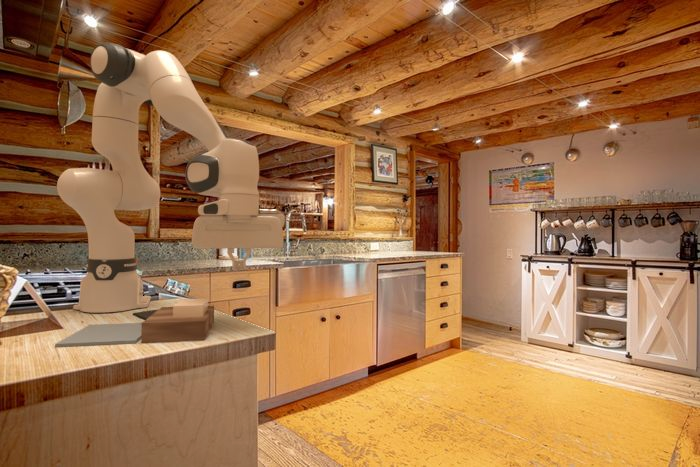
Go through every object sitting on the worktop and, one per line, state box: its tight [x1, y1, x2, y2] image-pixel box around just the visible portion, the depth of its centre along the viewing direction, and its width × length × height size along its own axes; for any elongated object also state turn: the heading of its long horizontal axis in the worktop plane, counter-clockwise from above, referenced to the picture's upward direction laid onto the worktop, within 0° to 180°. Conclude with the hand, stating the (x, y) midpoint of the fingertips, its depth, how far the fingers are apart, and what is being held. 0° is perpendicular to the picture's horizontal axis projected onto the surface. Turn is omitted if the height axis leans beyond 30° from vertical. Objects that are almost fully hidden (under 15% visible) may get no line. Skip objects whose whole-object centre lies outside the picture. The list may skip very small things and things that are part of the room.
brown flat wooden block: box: [140, 305, 215, 344], centre depth 85 cm, size 16×12×4 cm
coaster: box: [172, 298, 209, 318], centre depth 85 cm, size 8×6×2 cm
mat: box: [54, 322, 142, 348], centre depth 81 cm, size 15×14×1 cm
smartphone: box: [132, 309, 159, 321], centre depth 98 cm, size 7×1×15 cm
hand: (239, 268), depth 87 cm, fingers closed
